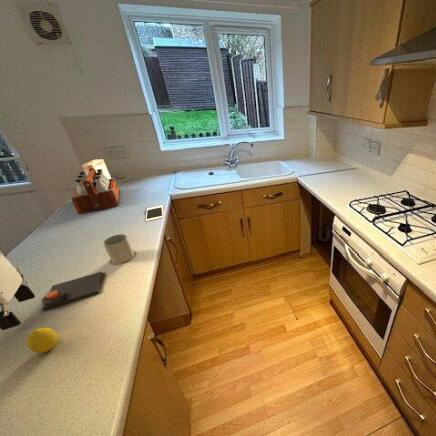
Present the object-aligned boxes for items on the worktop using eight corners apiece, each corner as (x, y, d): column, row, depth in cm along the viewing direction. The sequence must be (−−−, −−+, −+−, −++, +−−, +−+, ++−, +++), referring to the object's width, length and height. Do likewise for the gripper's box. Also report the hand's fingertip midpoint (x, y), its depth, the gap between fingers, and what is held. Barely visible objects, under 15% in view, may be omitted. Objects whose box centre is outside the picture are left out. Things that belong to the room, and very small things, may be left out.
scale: (44, 313, 79) (38, 305, 77) (55, 289, 89) (50, 282, 87) (99, 295, 85) (95, 288, 83) (103, 275, 95) (99, 268, 93)
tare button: (46, 301, 79) (44, 298, 78) (49, 295, 82) (47, 292, 81) (58, 298, 80) (56, 294, 80) (60, 292, 83) (58, 289, 82)
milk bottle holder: (120, 190, 178) (109, 164, 169) (119, 207, 152) (107, 177, 142) (84, 196, 168) (72, 170, 159) (77, 215, 142) (61, 185, 133)
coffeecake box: (104, 183, 193) (93, 159, 183) (113, 183, 193) (103, 159, 184) (92, 190, 179) (81, 164, 170) (102, 189, 180) (91, 164, 171)
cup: (107, 262, 102) (98, 243, 97) (125, 251, 108) (117, 233, 104) (121, 266, 99) (112, 246, 94) (139, 255, 106) (131, 236, 101)
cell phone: (162, 206, 150) (162, 205, 149) (163, 218, 135) (163, 217, 135) (147, 209, 146) (146, 208, 146) (146, 222, 132) (145, 220, 132)
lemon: (33, 362, 64) (15, 343, 61) (42, 344, 69) (26, 326, 65) (58, 353, 66) (43, 335, 62) (65, 337, 71) (52, 319, 67)
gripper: (-28, 244, 57) (14, 295, 66) (-80, 289, 44) (-19, 347, 52) (14, 235, 60) (49, 285, 69) (-23, 275, 47) (27, 331, 55)
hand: (20, 312), depth 60 cm, fingers open, 9 cm apart
